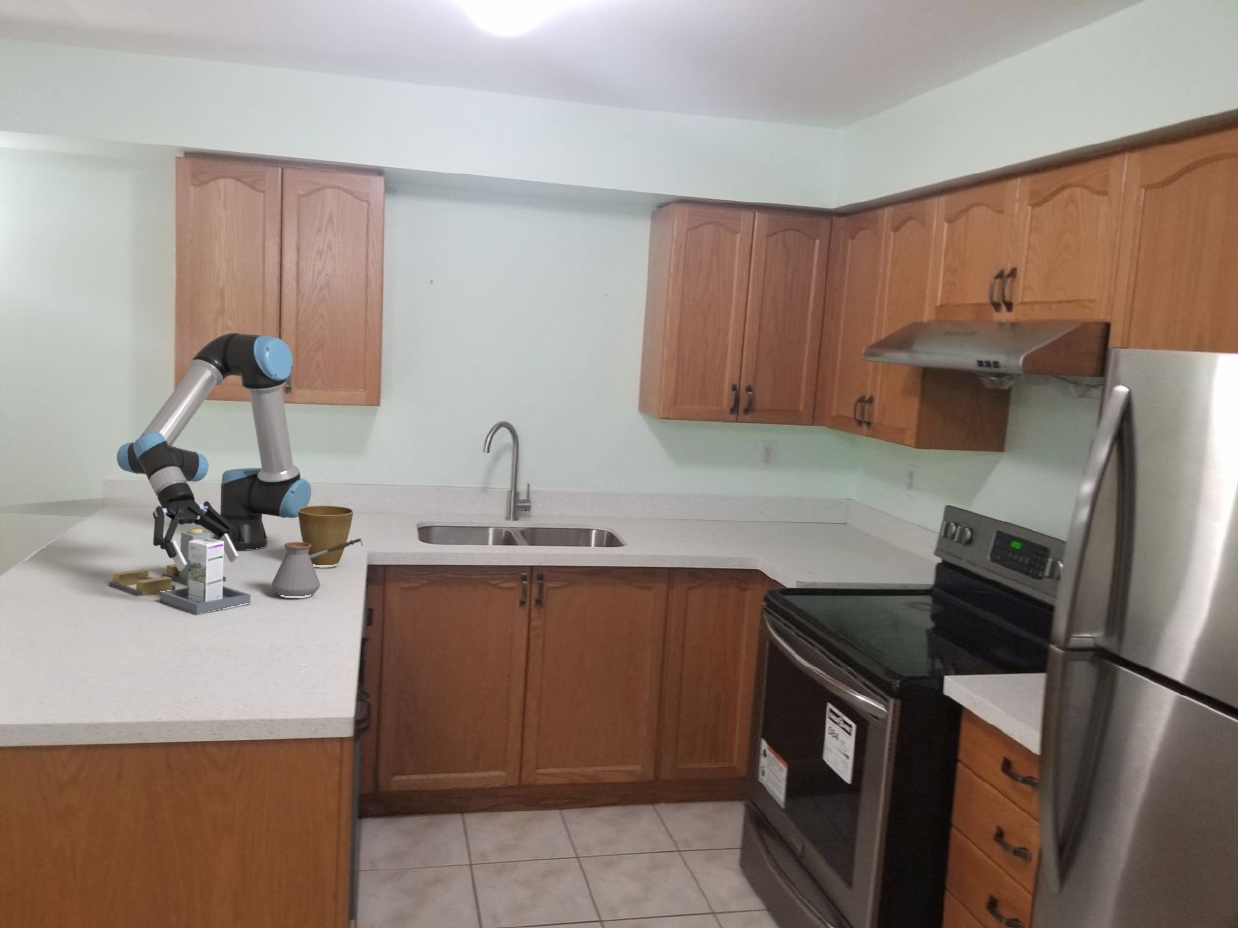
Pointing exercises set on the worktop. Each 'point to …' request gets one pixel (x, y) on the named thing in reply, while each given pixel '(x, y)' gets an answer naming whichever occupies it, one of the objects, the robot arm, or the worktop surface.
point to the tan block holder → (140, 582)
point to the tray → (180, 601)
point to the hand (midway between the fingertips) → (209, 563)
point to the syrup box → (205, 570)
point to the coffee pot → (300, 569)
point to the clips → (176, 574)
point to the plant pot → (325, 530)
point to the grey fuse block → (185, 538)
